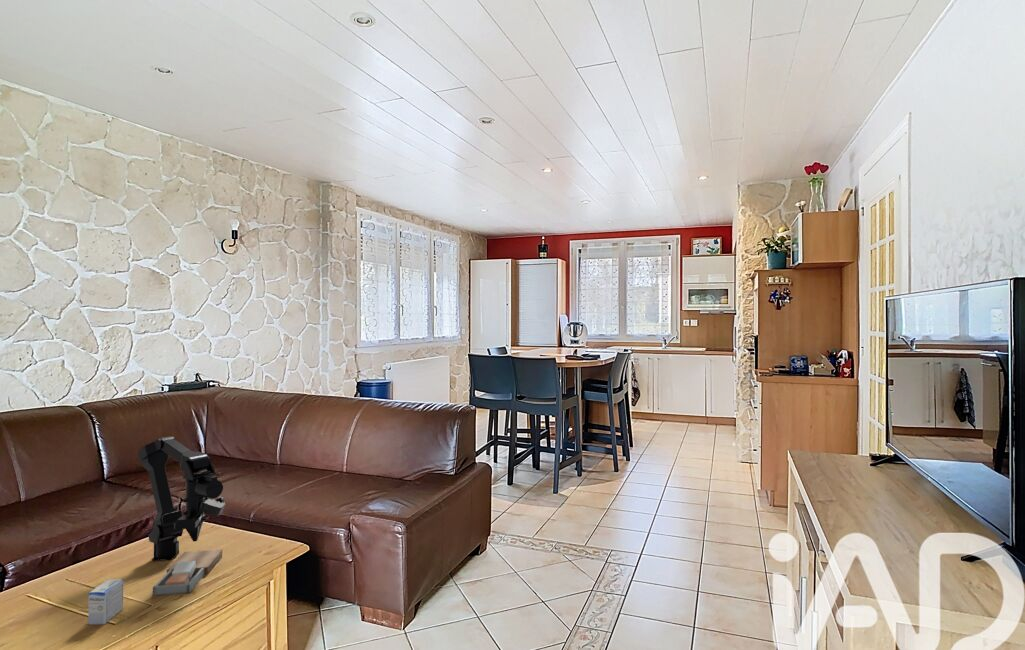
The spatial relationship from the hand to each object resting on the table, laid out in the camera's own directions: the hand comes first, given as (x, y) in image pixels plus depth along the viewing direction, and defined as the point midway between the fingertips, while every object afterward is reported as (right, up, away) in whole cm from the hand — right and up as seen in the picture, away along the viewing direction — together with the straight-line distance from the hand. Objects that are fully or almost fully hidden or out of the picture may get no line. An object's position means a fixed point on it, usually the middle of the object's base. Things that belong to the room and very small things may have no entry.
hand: (195, 541), depth 183 cm
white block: (+1, -7, -8) cm, 11 cm away
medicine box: (-7, -9, -31) cm, 33 cm away
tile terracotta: (+2, -9, -14) cm, 16 cm away
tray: (+2, -9, -12) cm, 15 cm away
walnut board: (0, -9, +1) cm, 9 cm away
